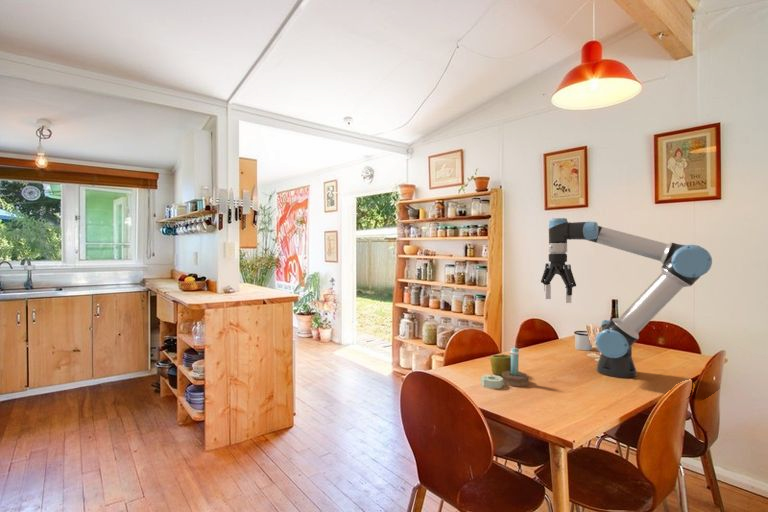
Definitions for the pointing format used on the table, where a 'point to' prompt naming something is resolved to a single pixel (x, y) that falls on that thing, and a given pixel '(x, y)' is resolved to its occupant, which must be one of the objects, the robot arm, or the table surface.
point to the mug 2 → (582, 341)
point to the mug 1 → (500, 364)
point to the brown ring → (515, 379)
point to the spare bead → (492, 381)
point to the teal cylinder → (514, 361)
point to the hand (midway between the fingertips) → (557, 300)
